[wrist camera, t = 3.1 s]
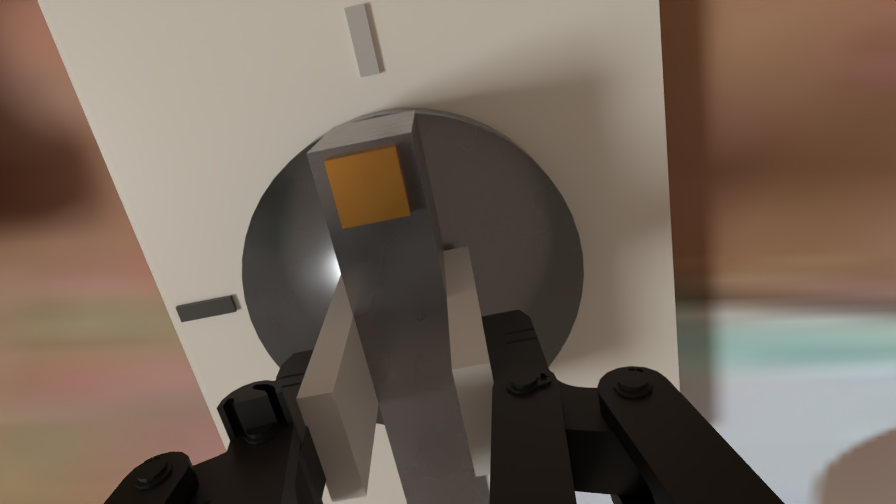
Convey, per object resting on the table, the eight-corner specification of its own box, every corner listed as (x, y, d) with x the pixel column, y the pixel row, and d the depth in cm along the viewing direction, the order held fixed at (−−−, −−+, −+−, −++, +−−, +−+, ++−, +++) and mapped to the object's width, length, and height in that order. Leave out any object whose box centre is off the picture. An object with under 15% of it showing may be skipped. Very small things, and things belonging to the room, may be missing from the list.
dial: (588, 373, 22) (642, 487, 16) (306, 424, 22) (266, 552, 17) (551, 75, 18) (607, 94, 12) (209, 146, 18) (115, 194, 13)
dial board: (665, 434, 25) (685, 468, 23) (275, 503, 26) (263, 543, 24) (626, -135, 18) (652, -157, 15) (70, -14, 18) (25, -20, 16)
